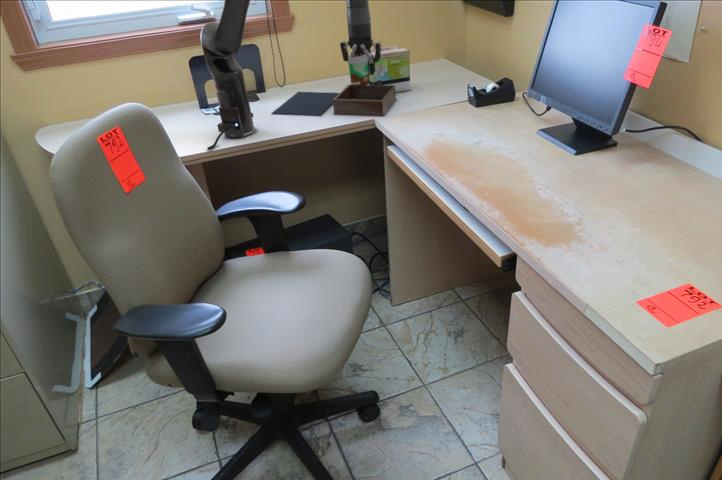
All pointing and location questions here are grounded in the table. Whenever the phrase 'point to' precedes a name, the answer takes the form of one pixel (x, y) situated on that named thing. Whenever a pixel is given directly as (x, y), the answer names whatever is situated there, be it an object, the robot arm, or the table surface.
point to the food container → (359, 70)
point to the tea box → (392, 68)
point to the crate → (364, 107)
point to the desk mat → (307, 104)
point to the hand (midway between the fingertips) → (362, 73)
